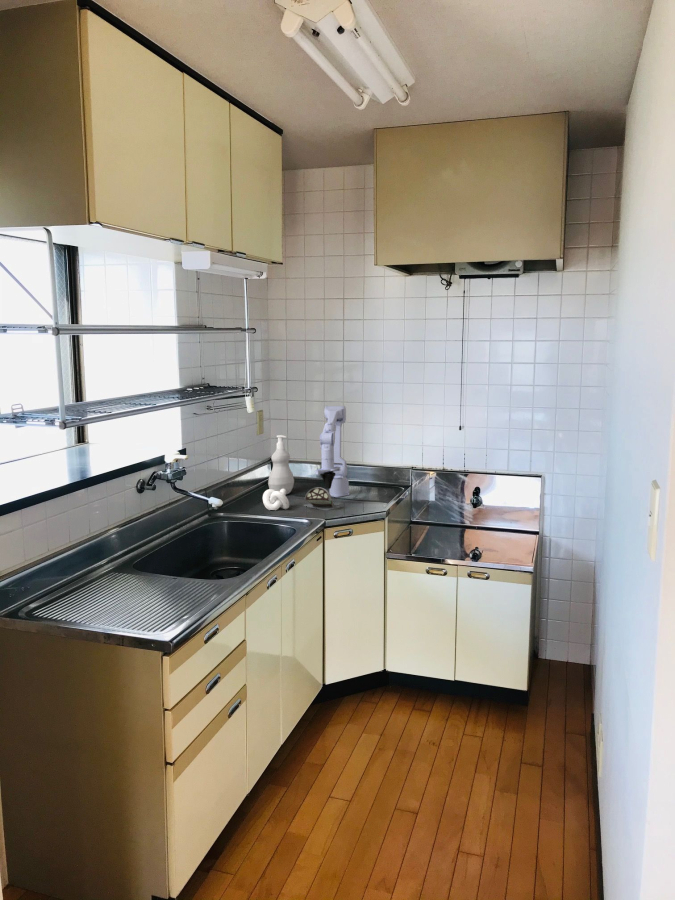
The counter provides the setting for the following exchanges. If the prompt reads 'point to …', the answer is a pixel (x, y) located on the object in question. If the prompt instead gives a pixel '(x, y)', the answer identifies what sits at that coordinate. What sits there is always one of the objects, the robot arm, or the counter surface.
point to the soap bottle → (281, 469)
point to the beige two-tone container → (319, 497)
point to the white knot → (275, 499)
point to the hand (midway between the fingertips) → (328, 488)
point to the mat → (323, 507)
